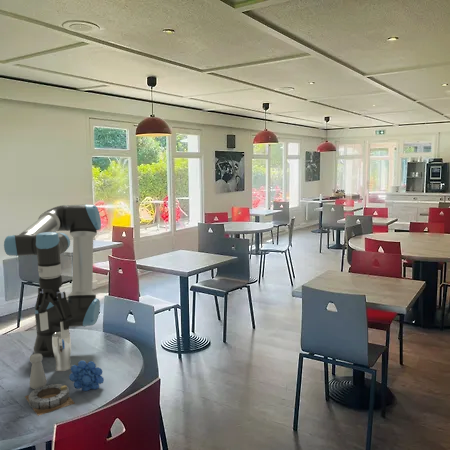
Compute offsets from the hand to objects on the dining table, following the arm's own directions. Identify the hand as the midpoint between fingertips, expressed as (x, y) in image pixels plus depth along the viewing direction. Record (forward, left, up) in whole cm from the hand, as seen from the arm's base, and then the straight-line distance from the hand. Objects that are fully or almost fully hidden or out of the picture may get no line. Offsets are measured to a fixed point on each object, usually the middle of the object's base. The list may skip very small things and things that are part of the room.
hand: (54, 333), depth 164 cm
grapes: (+12, +6, -20) cm, 24 cm away
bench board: (+10, -6, -20) cm, 23 cm away
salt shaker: (-3, -6, -20) cm, 22 cm away
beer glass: (-12, +6, -20) cm, 25 cm away
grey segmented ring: (+10, -6, -19) cm, 22 cm away
